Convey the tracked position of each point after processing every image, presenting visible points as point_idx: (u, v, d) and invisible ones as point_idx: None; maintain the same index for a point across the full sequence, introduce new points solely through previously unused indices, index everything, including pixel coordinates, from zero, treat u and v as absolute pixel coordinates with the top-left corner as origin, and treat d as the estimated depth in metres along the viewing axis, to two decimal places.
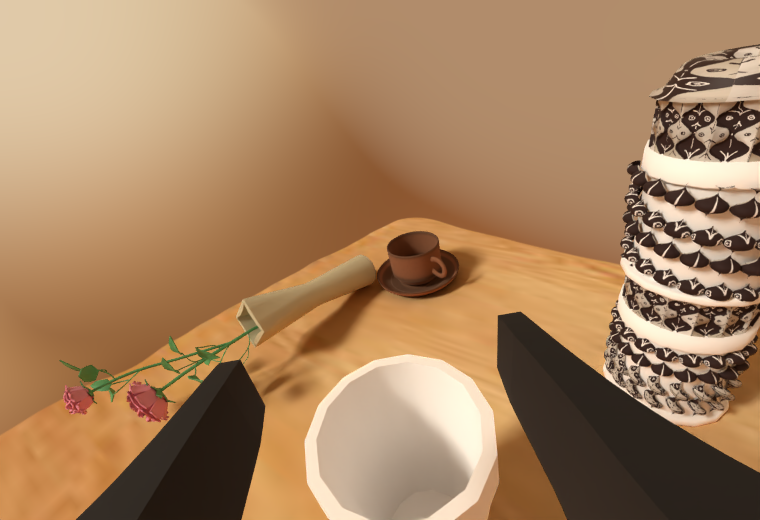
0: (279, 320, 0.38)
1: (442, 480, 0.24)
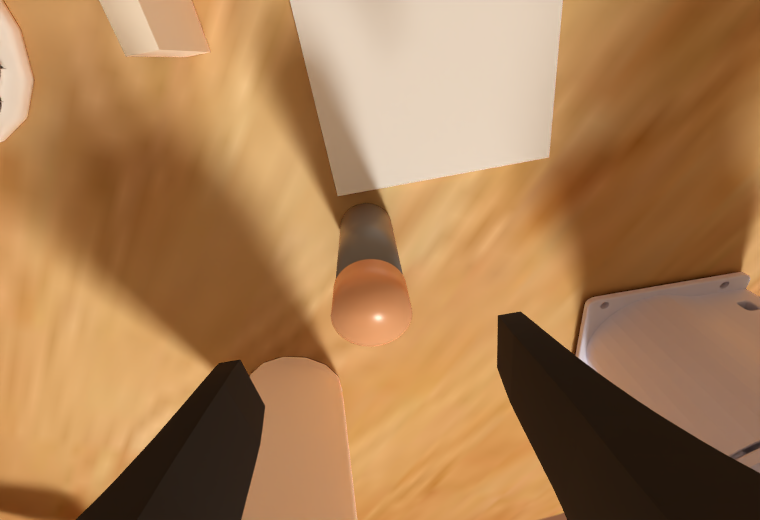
0: None
1: None
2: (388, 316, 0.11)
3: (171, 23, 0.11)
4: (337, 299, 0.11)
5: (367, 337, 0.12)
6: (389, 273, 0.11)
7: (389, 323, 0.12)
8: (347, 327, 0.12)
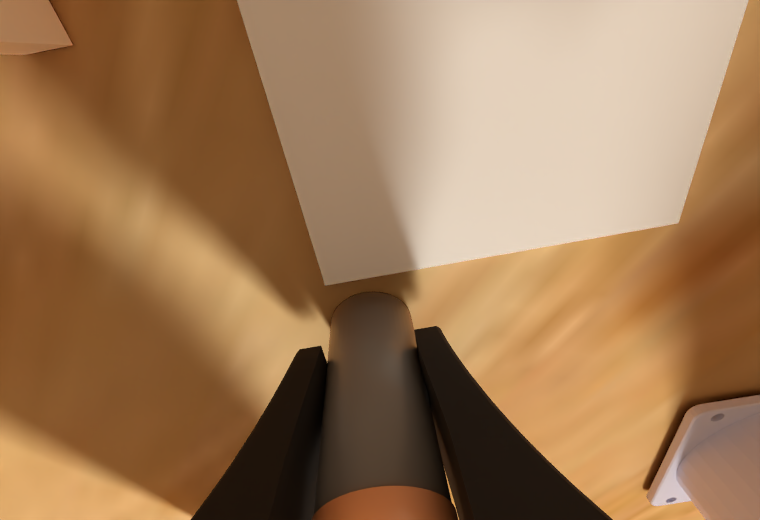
0: None
1: None
2: None
3: None
4: None
5: None
6: None
7: None
8: None
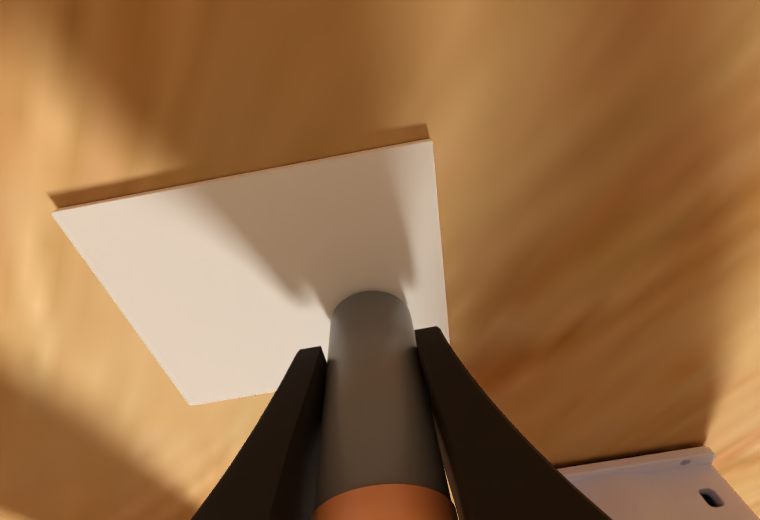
0: None
1: None
2: None
3: None
4: None
5: None
6: None
7: None
8: None
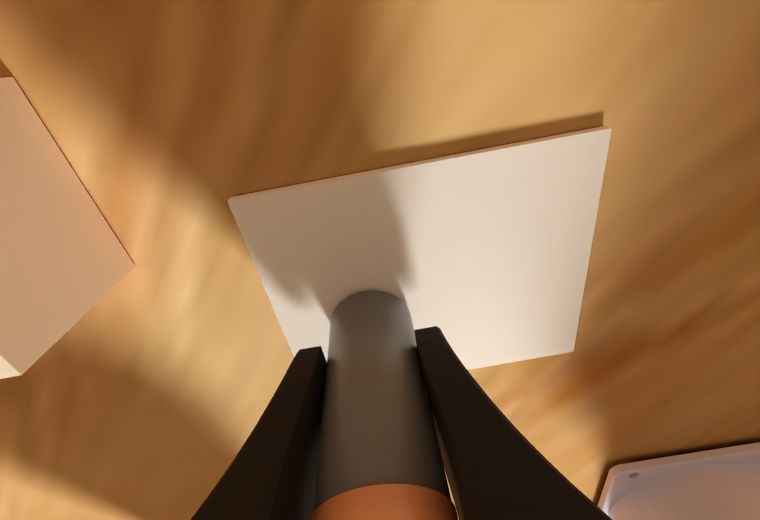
0: None
1: None
2: None
3: (55, 298, 0.07)
4: None
5: None
6: None
7: None
8: None
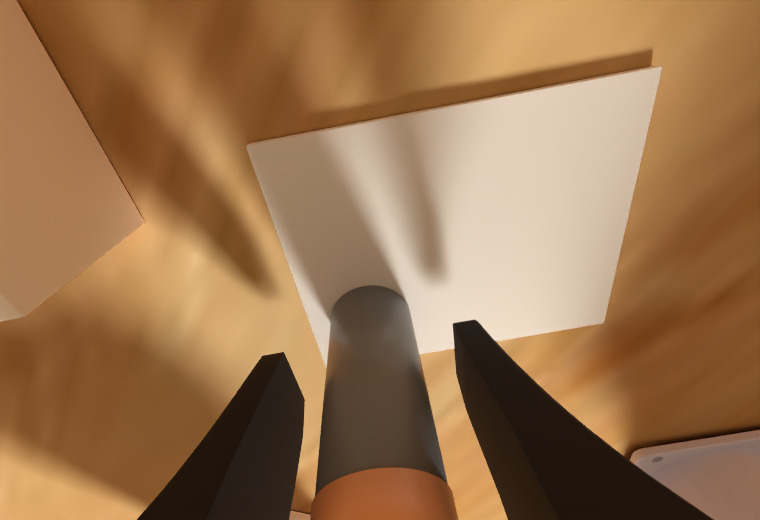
0: None
1: None
2: None
3: (60, 241, 0.07)
4: None
5: None
6: (427, 516, 0.05)
7: None
8: None
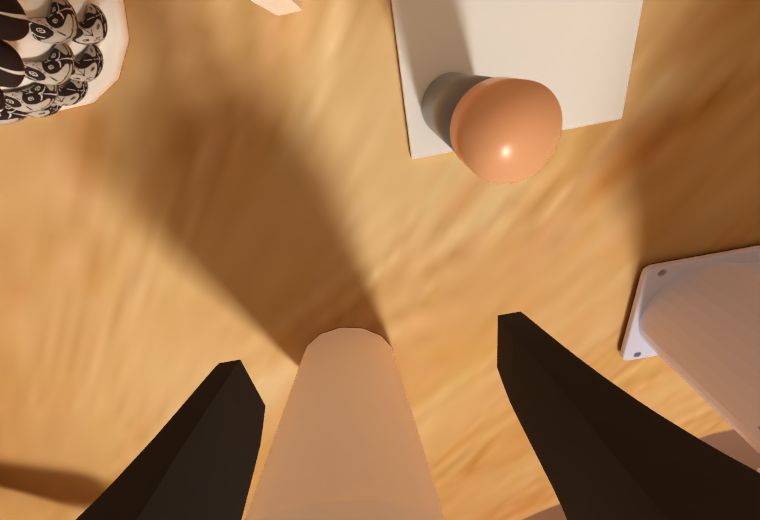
0: None
1: None
2: (531, 136, 0.09)
3: None
4: (477, 105, 0.09)
5: (500, 170, 0.10)
6: None
7: (530, 148, 0.09)
8: (480, 151, 0.09)
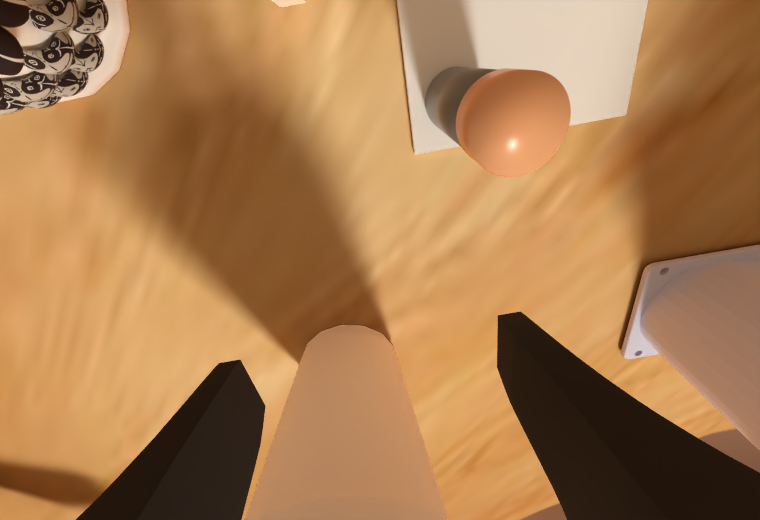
0: None
1: None
2: (539, 128, 0.09)
3: None
4: (484, 95, 0.09)
5: (507, 162, 0.10)
6: None
7: (538, 140, 0.09)
8: (486, 143, 0.09)
